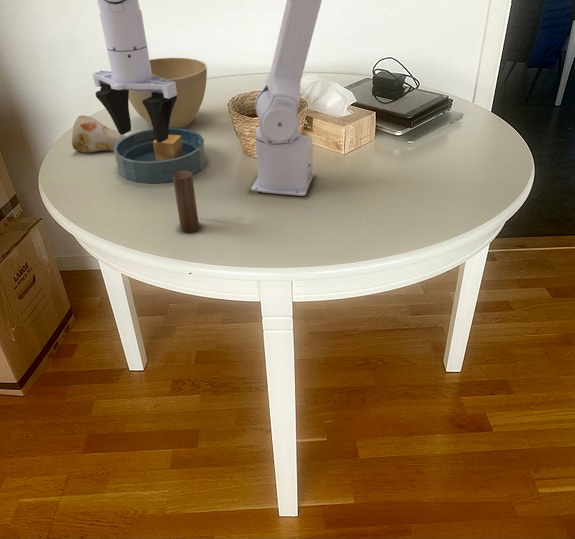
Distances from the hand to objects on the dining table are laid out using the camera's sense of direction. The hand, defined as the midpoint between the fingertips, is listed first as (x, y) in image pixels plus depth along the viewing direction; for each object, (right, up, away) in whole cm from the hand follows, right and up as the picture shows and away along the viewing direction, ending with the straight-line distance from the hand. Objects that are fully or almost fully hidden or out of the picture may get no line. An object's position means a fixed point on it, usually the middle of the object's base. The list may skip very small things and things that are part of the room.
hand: (143, 136), depth 85 cm
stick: (+8, -15, -4) cm, 17 cm away
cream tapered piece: (-14, +2, +21) cm, 26 cm away
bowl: (0, -2, +15) cm, 15 cm away
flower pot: (-3, +11, +33) cm, 34 cm away
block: (+1, 0, +16) cm, 16 cm away
